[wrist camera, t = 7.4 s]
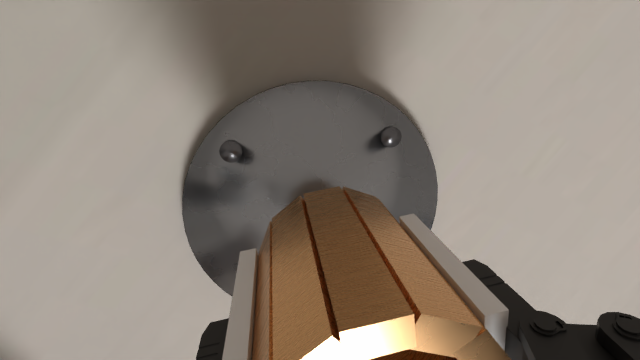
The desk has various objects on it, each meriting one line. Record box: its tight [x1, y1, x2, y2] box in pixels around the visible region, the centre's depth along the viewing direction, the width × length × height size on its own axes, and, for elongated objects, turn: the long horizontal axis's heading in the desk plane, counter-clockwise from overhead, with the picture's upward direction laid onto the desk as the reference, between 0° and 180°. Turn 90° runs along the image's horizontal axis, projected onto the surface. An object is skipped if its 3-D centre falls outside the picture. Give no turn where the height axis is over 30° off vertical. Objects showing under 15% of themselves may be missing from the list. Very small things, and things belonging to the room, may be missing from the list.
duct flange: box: [183, 81, 438, 296], centre depth 17 cm, size 16×16×6 cm
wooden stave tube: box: [252, 186, 511, 360], centre depth 12 cm, size 7×7×8 cm
